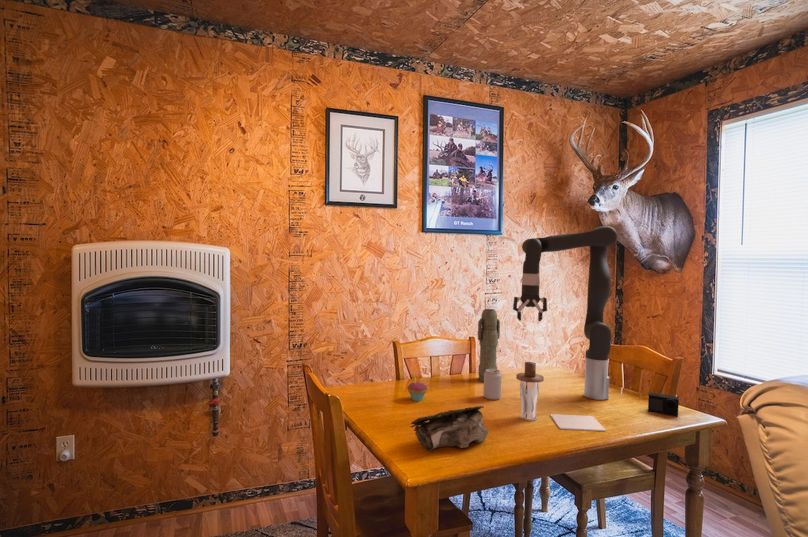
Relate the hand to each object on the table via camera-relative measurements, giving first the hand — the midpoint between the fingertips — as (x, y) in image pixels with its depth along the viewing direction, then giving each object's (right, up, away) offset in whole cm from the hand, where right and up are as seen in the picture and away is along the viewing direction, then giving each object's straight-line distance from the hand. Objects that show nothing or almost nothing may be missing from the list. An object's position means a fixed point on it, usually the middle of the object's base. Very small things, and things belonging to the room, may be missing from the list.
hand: (529, 320), depth 200 cm
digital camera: (+48, -35, -19) cm, 62 cm away
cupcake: (-50, -32, -8) cm, 60 cm away
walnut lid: (-8, -19, -28) cm, 35 cm away
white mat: (+9, -34, -32) cm, 48 cm away
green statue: (-14, -32, +24) cm, 43 cm away
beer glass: (-8, -34, -28) cm, 44 cm away
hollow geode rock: (-41, -34, -53) cm, 75 cm away
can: (-17, -33, -4) cm, 37 cm away
